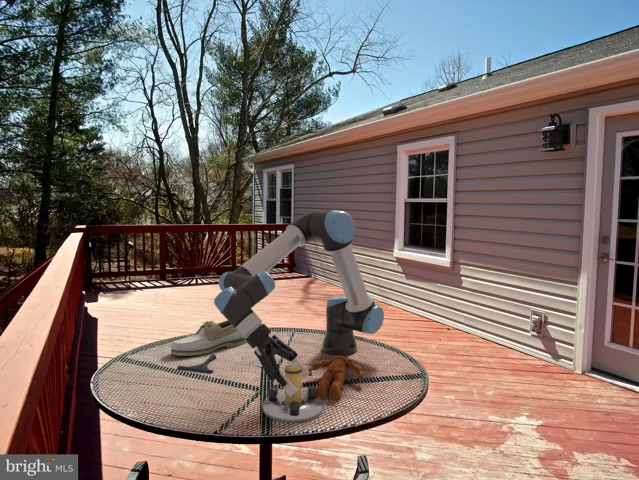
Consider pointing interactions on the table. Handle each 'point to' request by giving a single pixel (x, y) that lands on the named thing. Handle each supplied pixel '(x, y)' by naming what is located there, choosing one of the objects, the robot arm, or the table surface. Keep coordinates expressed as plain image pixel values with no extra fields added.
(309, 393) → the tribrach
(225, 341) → the boat shoe
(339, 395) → the toy
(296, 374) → the travel mug
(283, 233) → the robot arm
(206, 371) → the bracket
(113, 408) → the table surface
